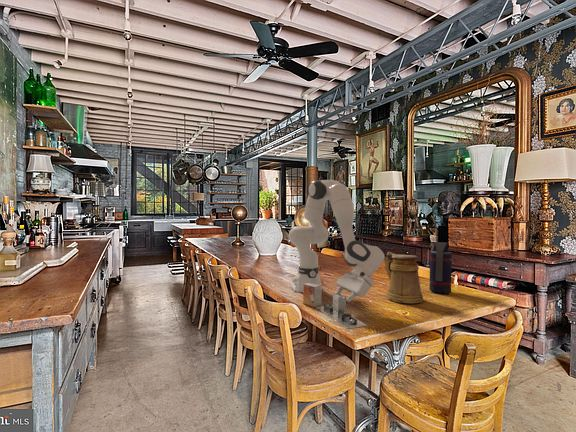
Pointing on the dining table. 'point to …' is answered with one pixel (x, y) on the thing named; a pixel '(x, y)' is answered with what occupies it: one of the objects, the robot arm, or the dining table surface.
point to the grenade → (440, 268)
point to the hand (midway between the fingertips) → (341, 297)
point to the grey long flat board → (341, 317)
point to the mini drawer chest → (339, 304)
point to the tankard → (403, 278)
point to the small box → (312, 294)
